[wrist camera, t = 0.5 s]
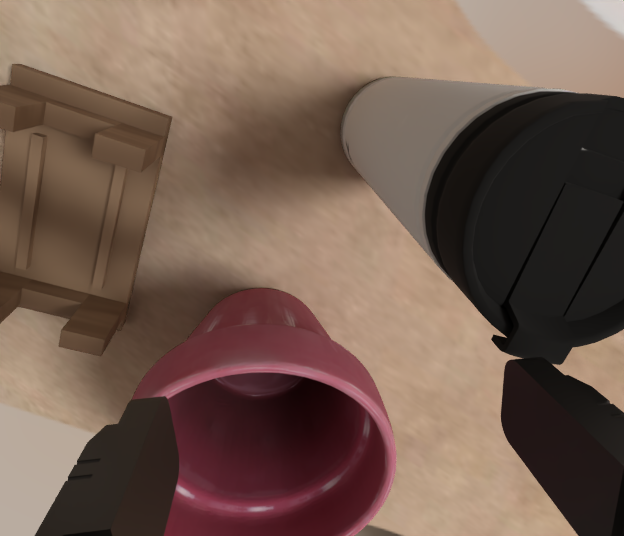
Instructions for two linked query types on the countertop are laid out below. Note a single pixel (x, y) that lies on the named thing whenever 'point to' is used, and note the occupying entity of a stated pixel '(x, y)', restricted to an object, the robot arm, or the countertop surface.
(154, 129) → the holder
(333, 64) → the countertop surface
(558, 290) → the travel mug
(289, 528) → the plant pot
